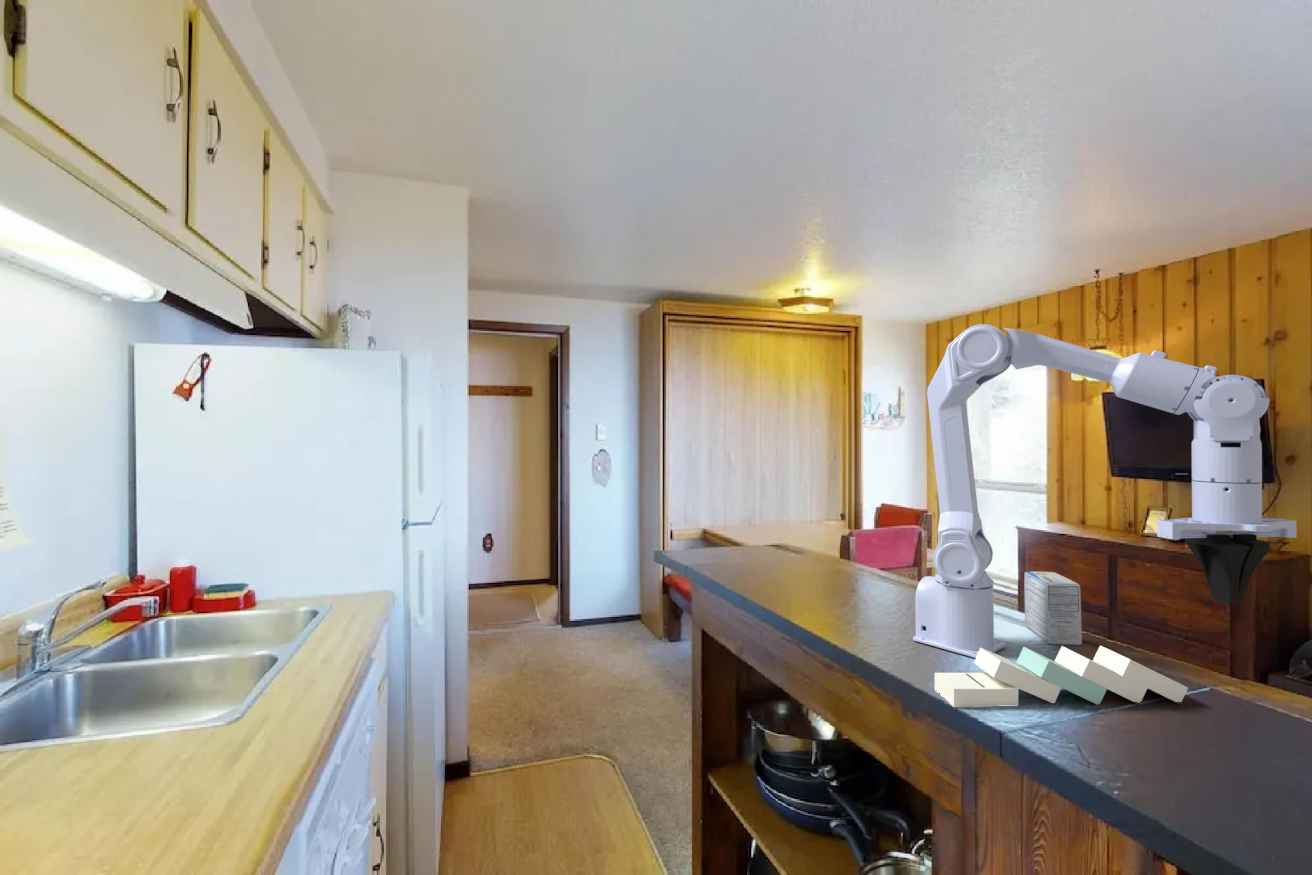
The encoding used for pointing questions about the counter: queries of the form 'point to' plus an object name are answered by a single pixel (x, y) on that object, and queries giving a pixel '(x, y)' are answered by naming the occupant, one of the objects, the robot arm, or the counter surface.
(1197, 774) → the counter surface
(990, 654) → the domino
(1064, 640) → the medicine box
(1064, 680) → the domino
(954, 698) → the domino
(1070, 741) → the counter surface
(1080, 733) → the counter surface
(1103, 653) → the domino
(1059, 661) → the domino
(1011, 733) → the counter surface
